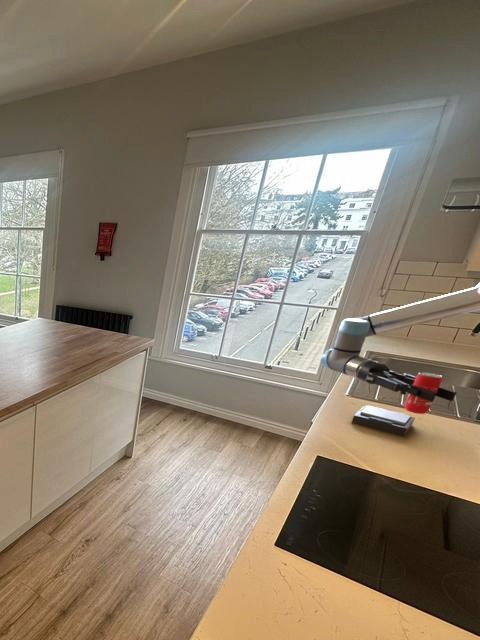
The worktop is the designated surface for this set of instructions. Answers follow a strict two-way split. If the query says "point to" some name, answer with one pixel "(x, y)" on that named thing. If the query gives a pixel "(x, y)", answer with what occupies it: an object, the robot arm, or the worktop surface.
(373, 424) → the scale
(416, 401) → the beverage can
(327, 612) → the worktop surface
